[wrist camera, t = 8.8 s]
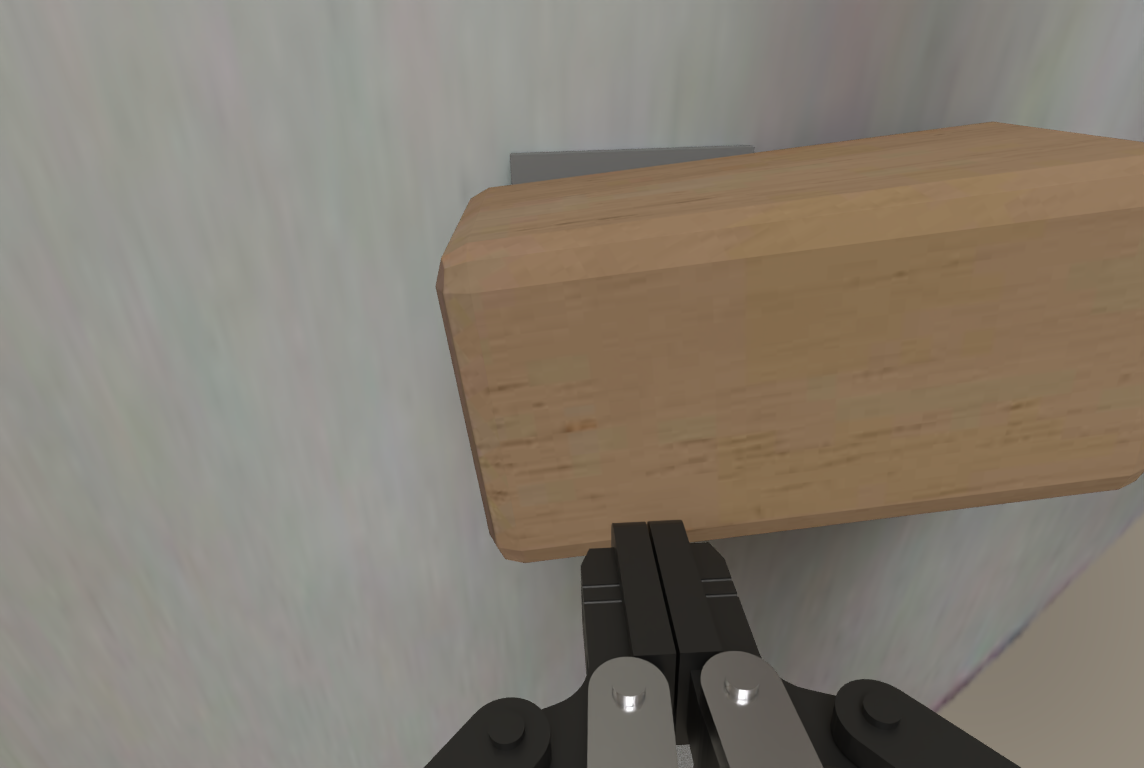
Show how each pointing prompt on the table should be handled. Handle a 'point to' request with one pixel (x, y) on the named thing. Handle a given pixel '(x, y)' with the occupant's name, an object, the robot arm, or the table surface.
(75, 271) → the table surface
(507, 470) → the block
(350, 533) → the table surface
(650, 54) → the table surface
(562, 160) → the mat
